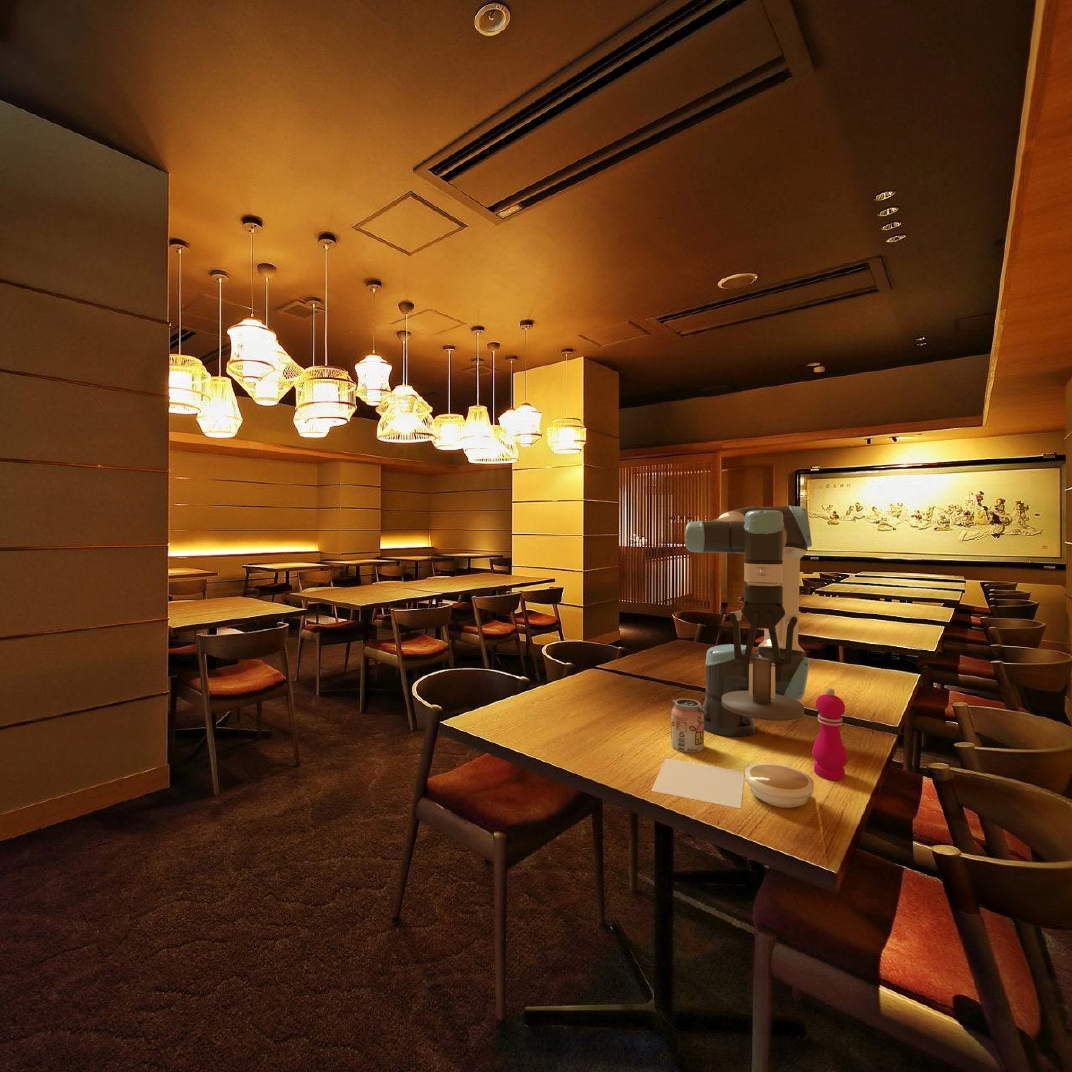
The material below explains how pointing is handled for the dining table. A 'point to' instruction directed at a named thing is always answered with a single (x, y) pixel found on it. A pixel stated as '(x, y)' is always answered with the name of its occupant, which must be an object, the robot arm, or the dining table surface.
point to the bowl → (779, 784)
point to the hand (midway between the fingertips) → (761, 694)
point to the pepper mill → (829, 738)
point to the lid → (762, 698)
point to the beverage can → (687, 726)
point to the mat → (700, 782)
